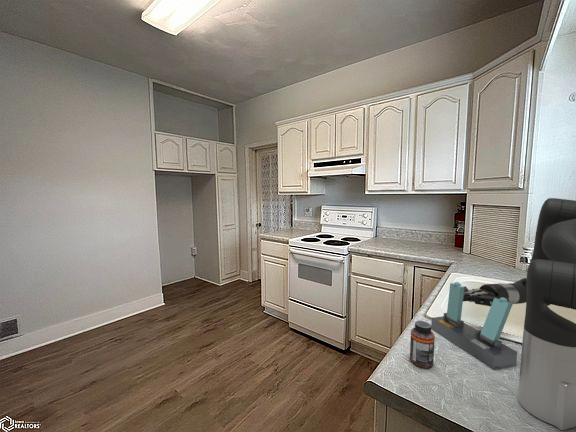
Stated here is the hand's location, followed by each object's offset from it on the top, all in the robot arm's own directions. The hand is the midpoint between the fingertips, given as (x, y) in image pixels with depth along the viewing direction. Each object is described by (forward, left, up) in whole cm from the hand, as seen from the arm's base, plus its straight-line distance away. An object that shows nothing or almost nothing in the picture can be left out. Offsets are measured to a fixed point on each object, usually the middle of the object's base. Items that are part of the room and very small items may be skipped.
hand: (457, 297), depth 86 cm
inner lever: (-12, +1, -8) cm, 14 cm away
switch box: (-6, +1, -13) cm, 14 cm away
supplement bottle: (-10, +22, -13) cm, 28 cm away
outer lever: (0, +1, -8) cm, 8 cm away
